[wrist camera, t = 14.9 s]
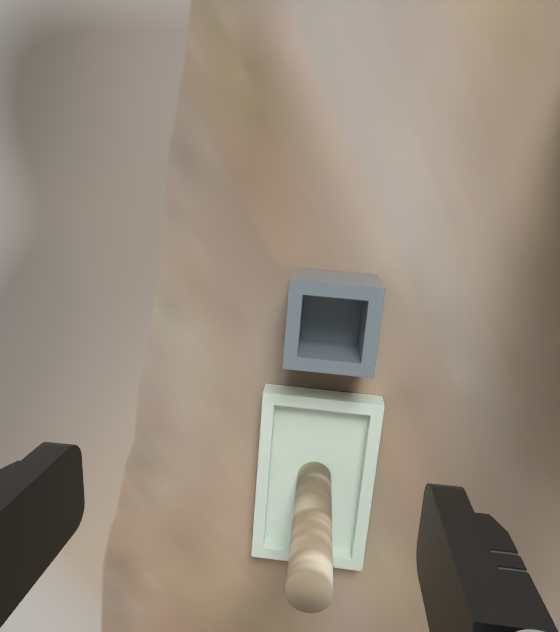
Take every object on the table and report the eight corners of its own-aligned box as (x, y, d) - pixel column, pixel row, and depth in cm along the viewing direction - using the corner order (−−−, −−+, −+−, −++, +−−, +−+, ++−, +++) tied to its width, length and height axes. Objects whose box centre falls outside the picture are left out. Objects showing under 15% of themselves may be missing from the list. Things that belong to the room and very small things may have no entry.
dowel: (332, 463, 42) (335, 575, 29) (329, 493, 43) (330, 615, 30) (298, 459, 42) (286, 569, 30) (296, 489, 43) (283, 609, 30)
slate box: (376, 275, 39) (385, 287, 33) (366, 352, 40) (373, 378, 34) (295, 267, 39) (289, 279, 33) (288, 345, 41) (282, 368, 35)
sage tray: (381, 396, 41) (384, 405, 39) (360, 555, 45) (361, 571, 43) (265, 383, 42) (262, 392, 40) (254, 541, 45) (251, 556, 44)
